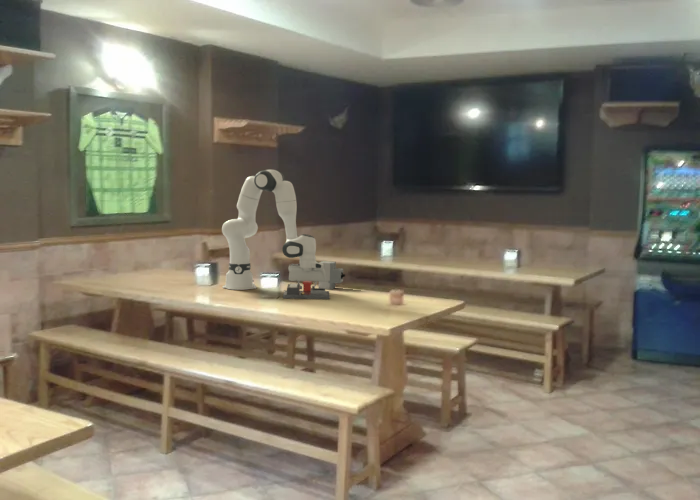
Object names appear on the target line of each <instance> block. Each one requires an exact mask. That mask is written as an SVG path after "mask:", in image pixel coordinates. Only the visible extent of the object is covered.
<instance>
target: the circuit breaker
mask: <svg viewBox="0 0 700 500" xmlns="http://www.w3.org/2000/svg"><path fill="white" fill-rule="evenodd" d="M319 262H320V263H323V264H324V267H323V268H324V270H325V275H326V280H325V281H324V282H319V281H317V284H318V288H325V290H334V289H336V284H341V283H343V281H344V277H346V274H345V273H344V268H337V262H336V261H327V260H325V261H324V260H321V261H319Z"/></svg>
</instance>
